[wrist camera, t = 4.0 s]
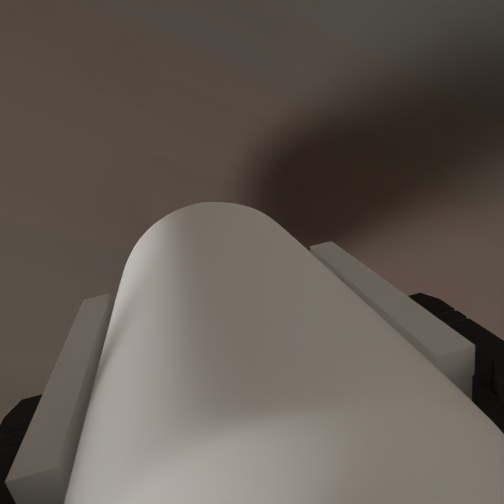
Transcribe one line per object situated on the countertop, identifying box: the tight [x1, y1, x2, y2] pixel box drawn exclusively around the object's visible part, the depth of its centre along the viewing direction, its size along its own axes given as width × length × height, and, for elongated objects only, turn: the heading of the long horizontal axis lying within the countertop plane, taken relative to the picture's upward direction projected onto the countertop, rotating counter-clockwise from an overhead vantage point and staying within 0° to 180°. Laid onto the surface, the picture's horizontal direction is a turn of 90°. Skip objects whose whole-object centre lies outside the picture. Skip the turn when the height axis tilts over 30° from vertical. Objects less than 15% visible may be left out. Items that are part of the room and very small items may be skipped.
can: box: [64, 202, 504, 504], centre depth 9 cm, size 6×6×12 cm
